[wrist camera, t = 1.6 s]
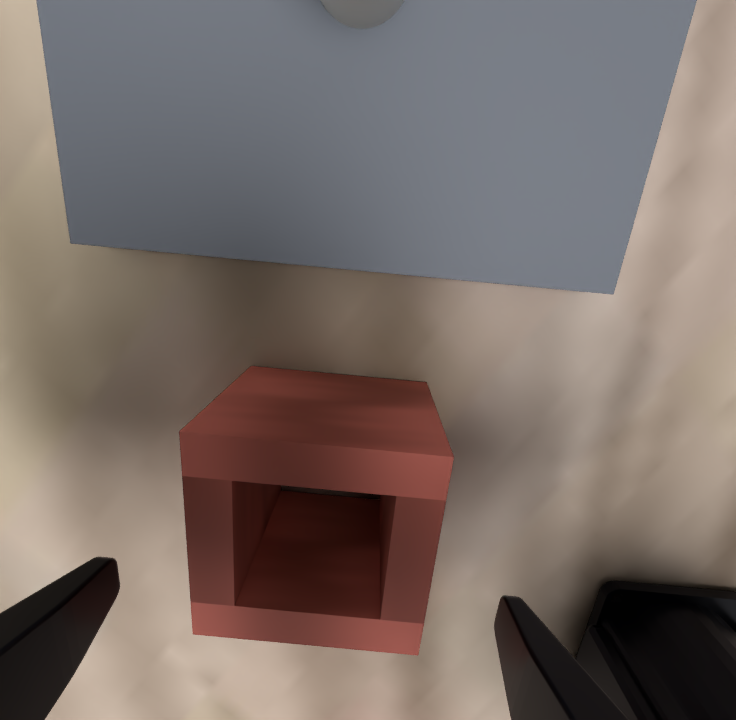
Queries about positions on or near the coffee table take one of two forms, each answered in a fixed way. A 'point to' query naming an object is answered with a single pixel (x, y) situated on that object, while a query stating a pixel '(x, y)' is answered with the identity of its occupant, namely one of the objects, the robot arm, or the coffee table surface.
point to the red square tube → (314, 509)
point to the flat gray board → (365, 130)
